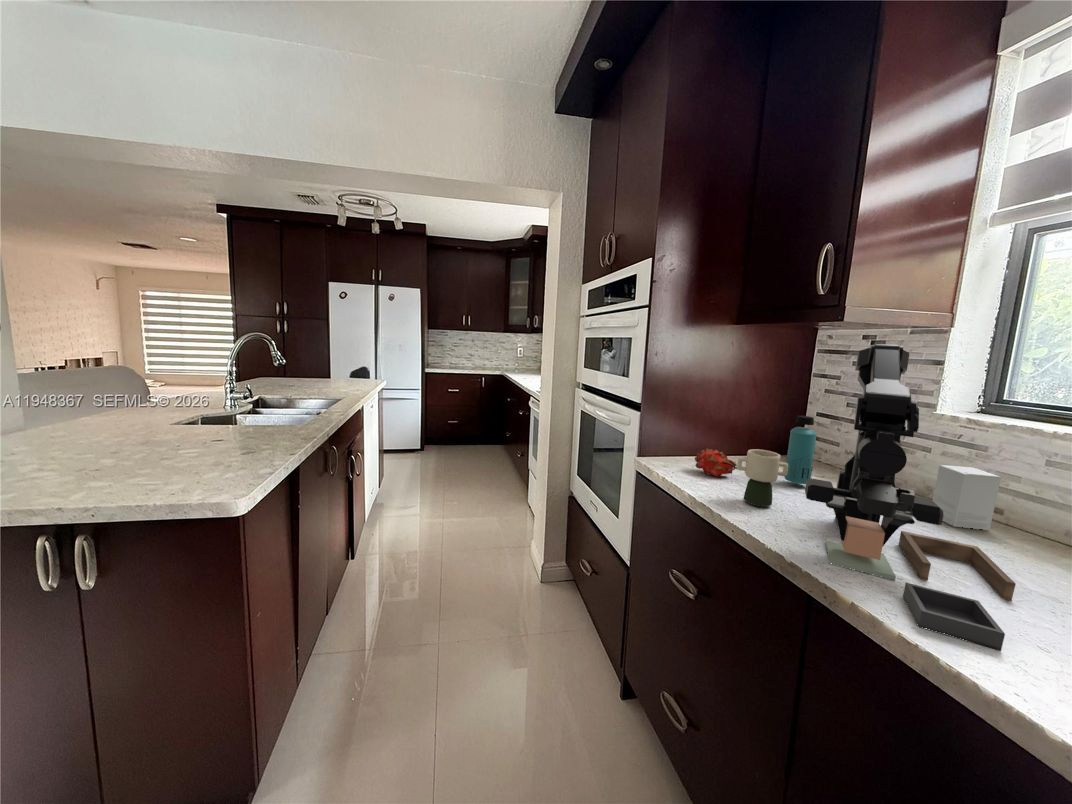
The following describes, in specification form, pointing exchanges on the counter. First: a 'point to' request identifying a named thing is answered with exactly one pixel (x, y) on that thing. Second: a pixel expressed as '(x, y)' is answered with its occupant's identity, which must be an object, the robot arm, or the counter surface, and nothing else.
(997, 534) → the counter surface
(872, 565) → the mat
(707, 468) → the dragon fruit
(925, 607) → the tray
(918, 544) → the stall
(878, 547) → the block
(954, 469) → the supplement box
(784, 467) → the character mug
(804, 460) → the beverage bottle
